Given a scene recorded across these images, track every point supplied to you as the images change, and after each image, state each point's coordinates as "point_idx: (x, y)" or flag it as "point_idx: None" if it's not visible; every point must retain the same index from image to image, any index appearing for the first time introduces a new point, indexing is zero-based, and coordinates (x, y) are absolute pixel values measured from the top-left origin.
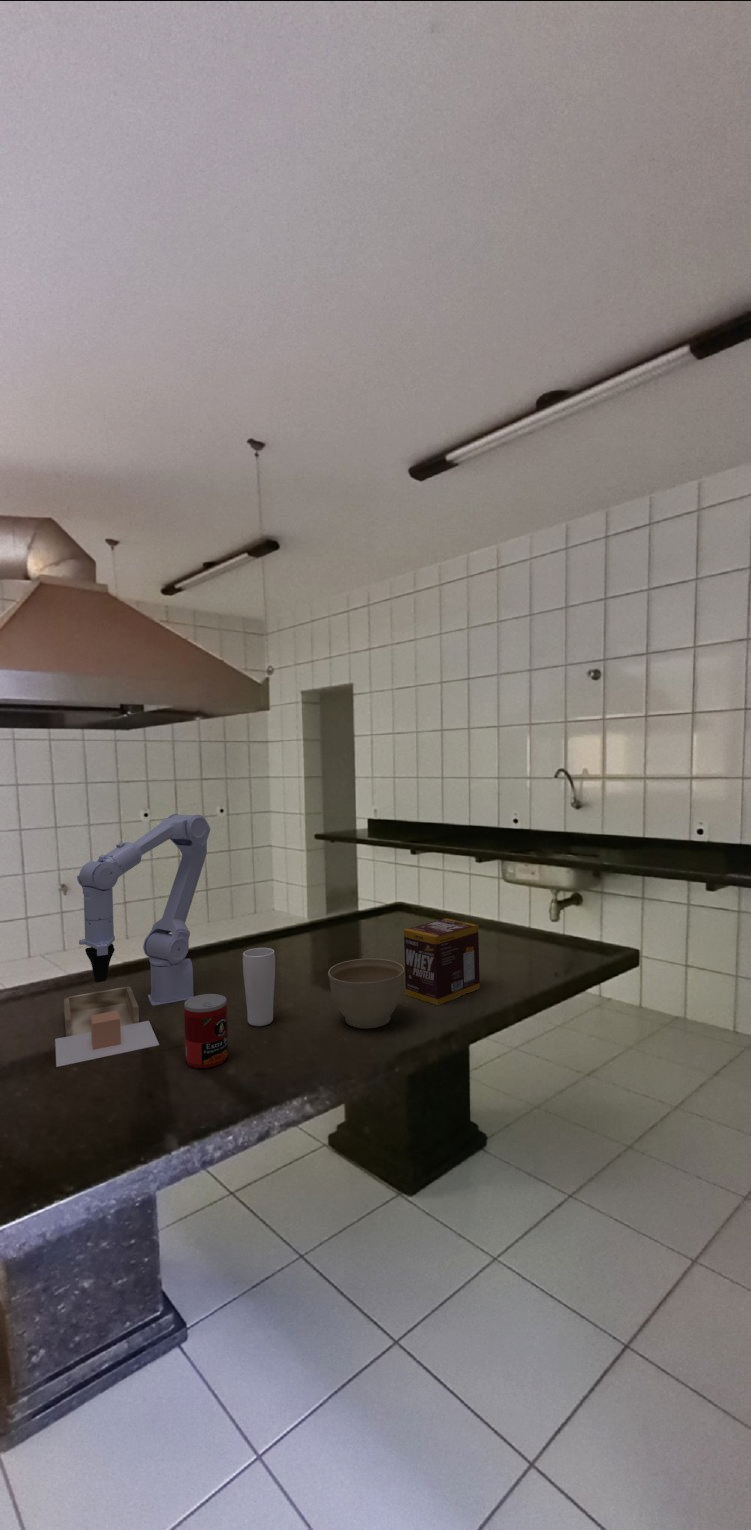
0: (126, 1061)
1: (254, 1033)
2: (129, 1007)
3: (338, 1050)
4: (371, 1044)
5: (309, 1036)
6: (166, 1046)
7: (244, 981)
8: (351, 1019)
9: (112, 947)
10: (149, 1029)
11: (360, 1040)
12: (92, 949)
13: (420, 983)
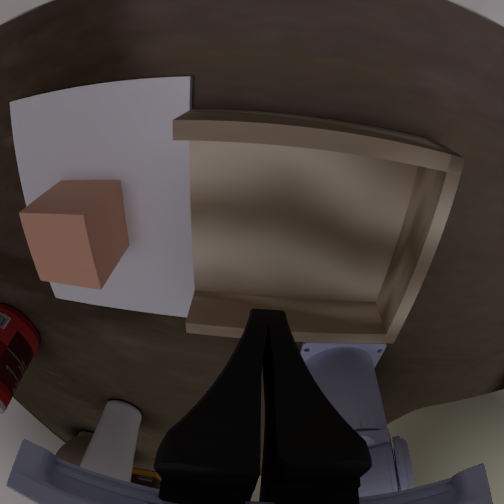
0: (19, 234)
1: (89, 390)
2: (300, 307)
3: (38, 401)
4: (49, 417)
5: (71, 408)
6: (64, 304)
7: (99, 456)
8: (80, 437)
9: (259, 501)
10: (136, 306)
11: (57, 418)
12: (241, 486)
13: (134, 482)
